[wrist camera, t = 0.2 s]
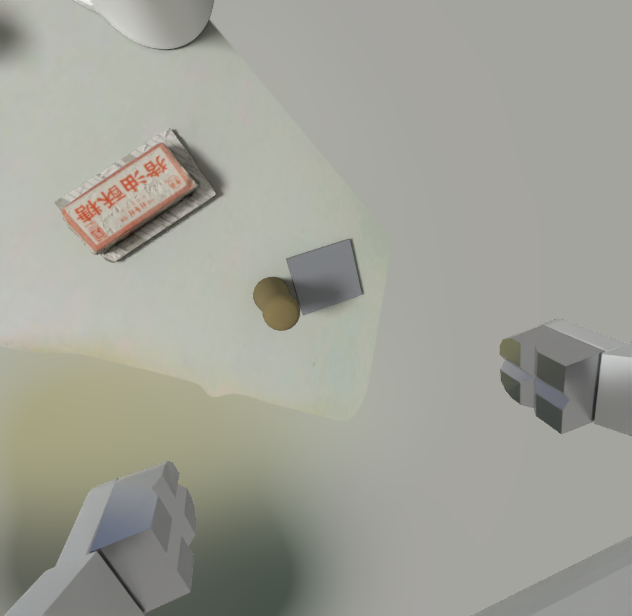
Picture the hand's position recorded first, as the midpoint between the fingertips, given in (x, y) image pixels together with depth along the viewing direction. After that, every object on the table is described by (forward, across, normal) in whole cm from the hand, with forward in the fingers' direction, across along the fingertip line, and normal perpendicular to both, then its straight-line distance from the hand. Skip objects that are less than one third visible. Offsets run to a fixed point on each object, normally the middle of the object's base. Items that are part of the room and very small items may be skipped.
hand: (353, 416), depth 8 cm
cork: (+48, -1, +12) cm, 49 cm away
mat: (+48, -10, +12) cm, 50 cm away
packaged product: (+48, +12, -7) cm, 50 cm away
